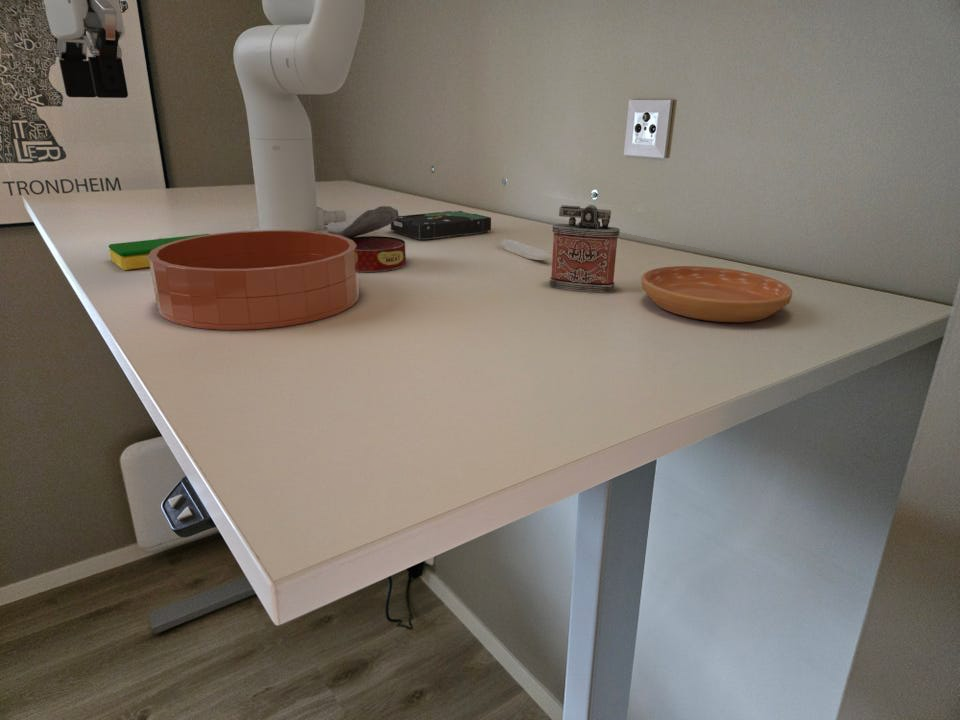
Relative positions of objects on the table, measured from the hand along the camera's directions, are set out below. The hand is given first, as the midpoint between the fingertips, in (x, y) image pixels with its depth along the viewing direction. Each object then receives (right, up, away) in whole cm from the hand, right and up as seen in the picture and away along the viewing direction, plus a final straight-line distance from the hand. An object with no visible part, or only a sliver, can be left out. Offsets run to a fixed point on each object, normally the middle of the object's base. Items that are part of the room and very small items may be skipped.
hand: (96, 97), depth 74 cm
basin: (+19, -23, 0) cm, 30 cm away
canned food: (+28, -17, +17) cm, 37 cm away
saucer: (+70, -24, 0) cm, 74 cm away
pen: (+51, -15, +23) cm, 58 cm away
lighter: (+56, -21, +7) cm, 61 cm away
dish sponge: (0, -16, +18) cm, 24 cm away
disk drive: (+37, -8, +40) cm, 55 cm away
